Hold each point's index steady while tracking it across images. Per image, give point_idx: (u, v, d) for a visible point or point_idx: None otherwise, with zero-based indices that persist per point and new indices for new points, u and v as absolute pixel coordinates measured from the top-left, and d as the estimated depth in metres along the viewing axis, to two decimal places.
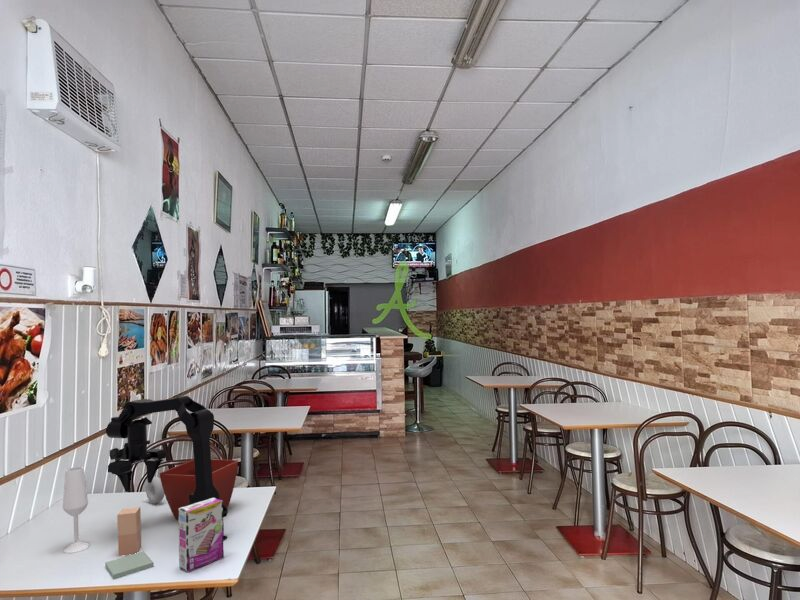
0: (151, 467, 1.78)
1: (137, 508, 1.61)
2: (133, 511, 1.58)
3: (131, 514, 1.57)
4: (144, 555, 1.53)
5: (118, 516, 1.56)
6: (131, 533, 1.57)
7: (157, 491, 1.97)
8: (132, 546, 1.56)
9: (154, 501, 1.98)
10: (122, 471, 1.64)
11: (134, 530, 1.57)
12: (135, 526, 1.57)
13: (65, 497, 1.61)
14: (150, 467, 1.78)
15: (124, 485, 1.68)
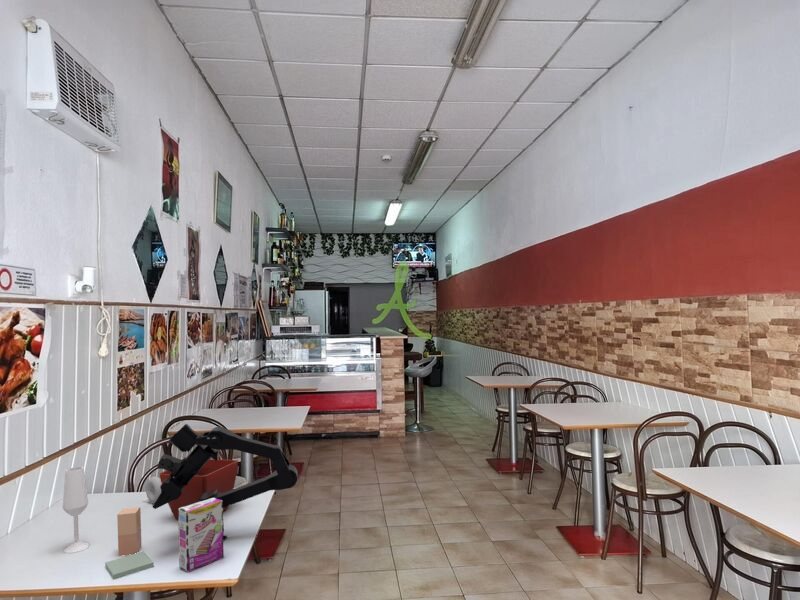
0: None
1: (137, 508, 1.61)
2: (133, 511, 1.58)
3: (131, 515, 1.57)
4: (144, 555, 1.53)
5: (118, 516, 1.56)
6: (131, 533, 1.57)
7: (157, 491, 1.97)
8: (132, 546, 1.56)
9: (154, 501, 1.98)
10: (177, 497, 1.54)
11: (134, 530, 1.57)
12: (135, 526, 1.57)
13: (65, 497, 1.61)
14: None
15: (158, 502, 1.56)
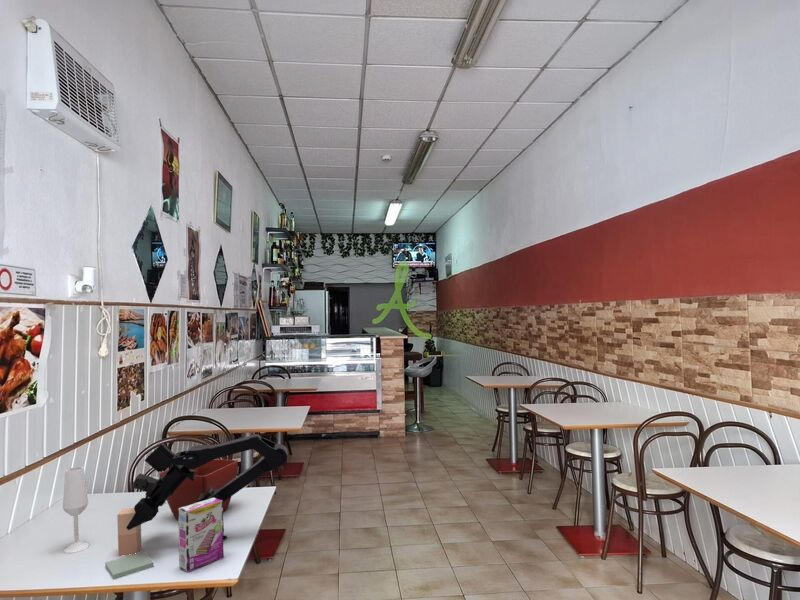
0: None
1: None
2: (133, 511, 1.58)
3: (131, 514, 1.57)
4: (144, 555, 1.53)
5: (118, 516, 1.56)
6: (131, 533, 1.57)
7: None
8: (132, 546, 1.56)
9: None
10: (151, 519, 1.52)
11: (134, 530, 1.57)
12: None
13: (65, 497, 1.61)
14: None
15: (132, 523, 1.54)
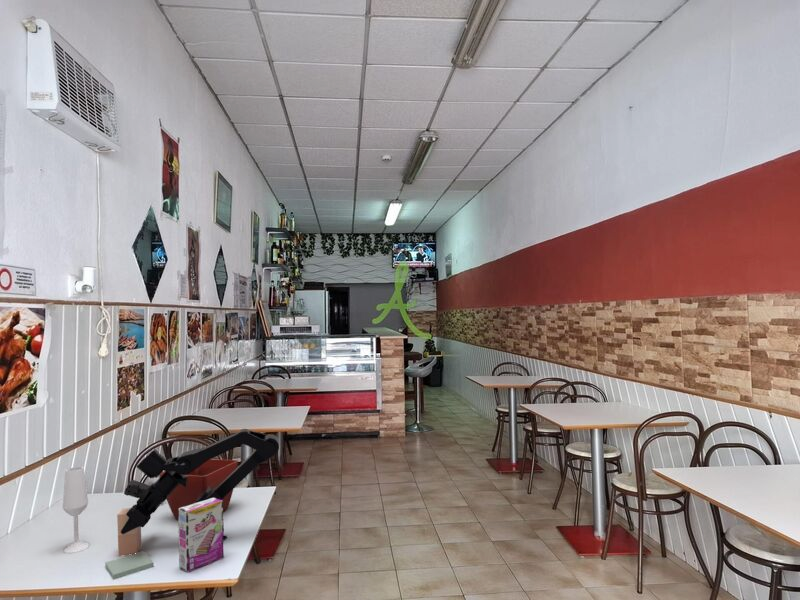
0: None
1: None
2: None
3: None
4: (144, 555, 1.53)
5: (118, 516, 1.56)
6: (131, 533, 1.57)
7: None
8: (132, 546, 1.56)
9: None
10: (143, 526, 1.51)
11: (134, 530, 1.57)
12: None
13: (65, 497, 1.61)
14: None
15: (126, 527, 1.55)
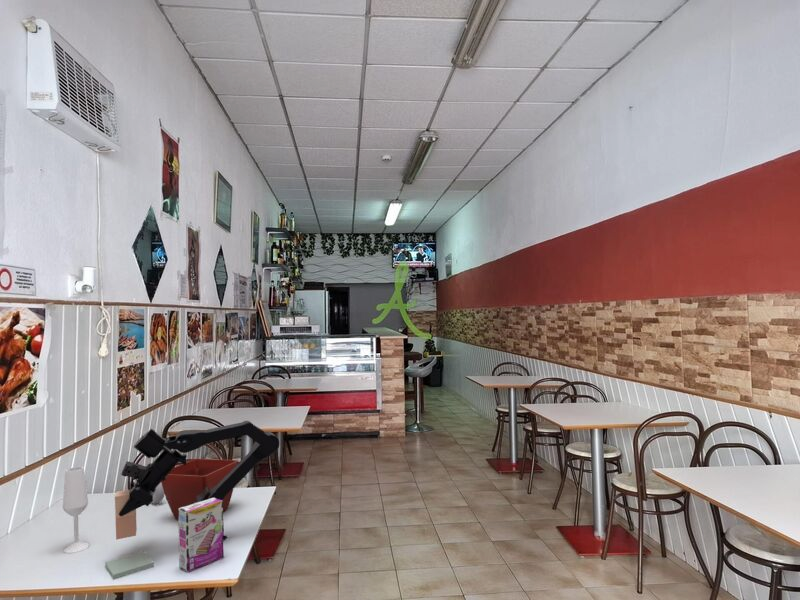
0: None
1: None
2: None
3: None
4: (144, 555, 1.53)
5: (116, 498, 1.51)
6: (129, 515, 1.52)
7: (157, 491, 1.97)
8: (131, 528, 1.52)
9: (154, 501, 1.98)
10: (148, 504, 1.49)
11: (133, 511, 1.53)
12: None
13: (65, 497, 1.61)
14: None
15: (125, 509, 1.51)
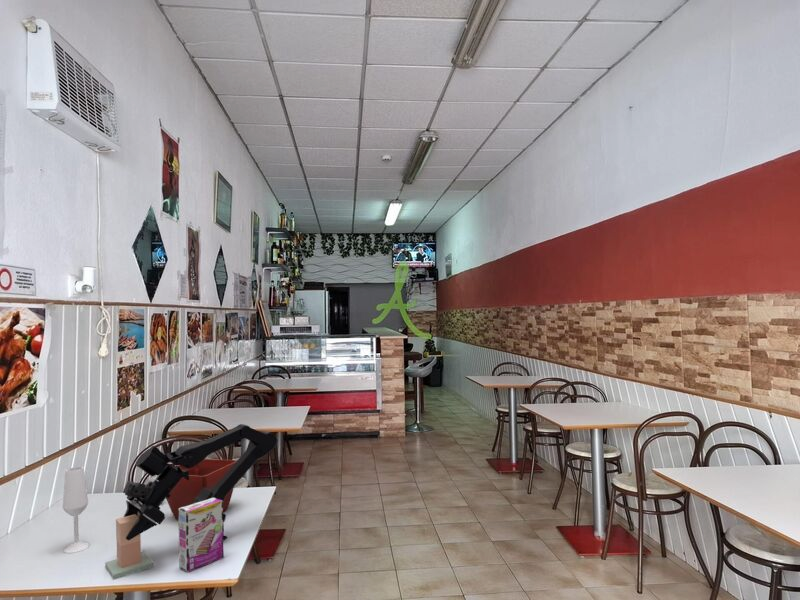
0: None
1: (134, 515, 1.51)
2: (134, 518, 1.49)
3: (135, 521, 1.48)
4: (144, 555, 1.53)
5: (121, 525, 1.45)
6: (134, 541, 1.48)
7: None
8: (136, 555, 1.47)
9: None
10: (160, 523, 1.46)
11: (138, 537, 1.48)
12: None
13: (65, 497, 1.61)
14: (132, 514, 1.54)
15: (133, 532, 1.45)
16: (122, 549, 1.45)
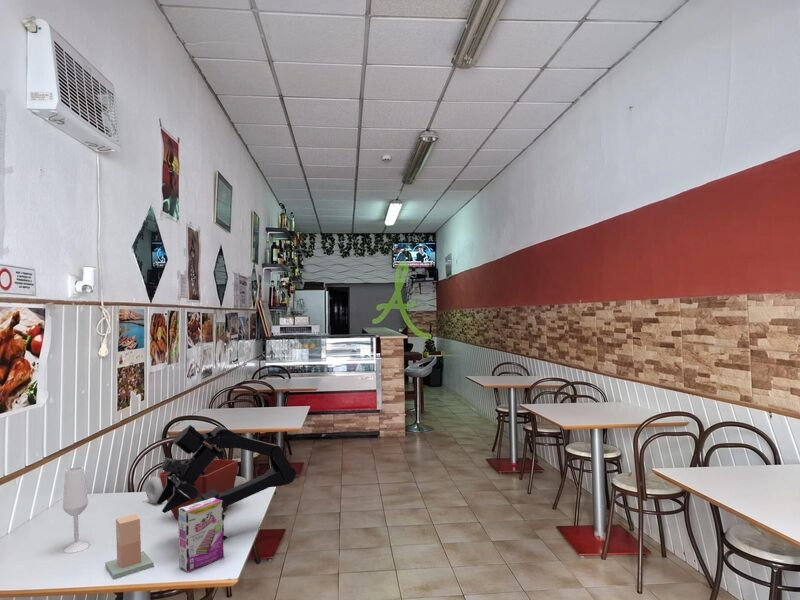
0: (172, 490, 1.62)
1: (134, 515, 1.51)
2: (134, 518, 1.49)
3: (135, 521, 1.48)
4: (144, 555, 1.53)
5: (121, 525, 1.45)
6: (134, 541, 1.48)
7: (157, 491, 1.97)
8: (136, 555, 1.47)
9: (154, 501, 1.98)
10: None
11: (138, 537, 1.48)
12: (139, 533, 1.48)
13: (65, 497, 1.61)
14: (170, 489, 1.62)
15: (169, 505, 1.52)
16: (122, 549, 1.45)
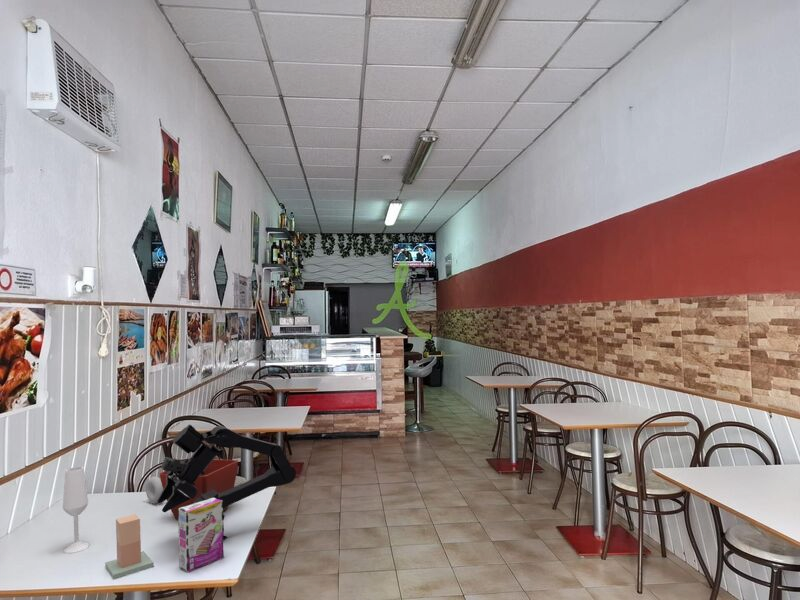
0: (173, 489, 1.63)
1: (134, 515, 1.51)
2: (134, 518, 1.49)
3: (135, 521, 1.48)
4: (144, 555, 1.53)
5: (121, 525, 1.45)
6: (134, 541, 1.48)
7: (157, 491, 1.97)
8: (136, 555, 1.47)
9: (154, 501, 1.98)
10: (193, 497, 1.53)
11: (138, 537, 1.48)
12: (139, 533, 1.48)
13: (65, 497, 1.61)
14: (171, 488, 1.62)
15: (168, 505, 1.52)
16: (122, 549, 1.45)
